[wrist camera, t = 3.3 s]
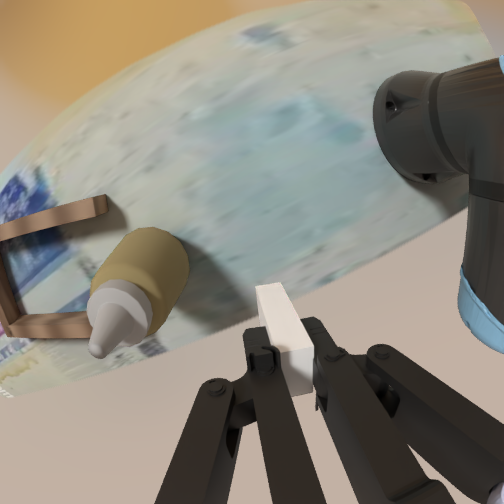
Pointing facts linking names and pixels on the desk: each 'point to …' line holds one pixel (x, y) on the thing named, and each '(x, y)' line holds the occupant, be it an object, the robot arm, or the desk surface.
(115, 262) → the squeeze bottle
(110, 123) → the desk surface
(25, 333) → the bottle rest
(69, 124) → the desk surface
